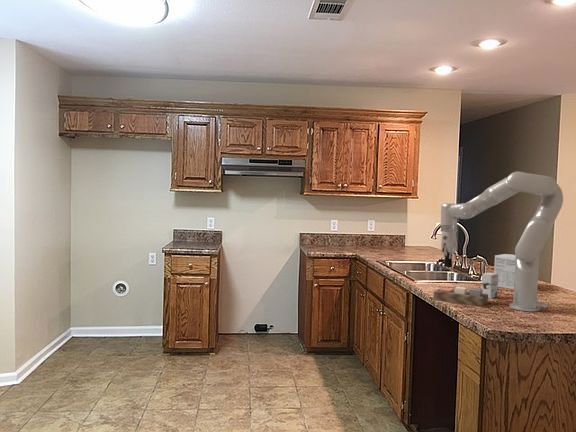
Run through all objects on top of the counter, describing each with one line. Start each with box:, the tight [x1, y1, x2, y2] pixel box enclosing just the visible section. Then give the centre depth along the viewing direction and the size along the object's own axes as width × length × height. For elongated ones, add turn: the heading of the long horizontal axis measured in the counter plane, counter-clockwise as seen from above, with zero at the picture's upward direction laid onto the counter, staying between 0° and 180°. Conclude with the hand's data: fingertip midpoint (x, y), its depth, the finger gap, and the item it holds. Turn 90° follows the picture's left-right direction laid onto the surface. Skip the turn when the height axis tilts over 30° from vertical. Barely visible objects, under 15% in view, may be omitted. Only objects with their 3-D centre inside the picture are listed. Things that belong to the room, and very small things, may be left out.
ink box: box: [481, 272, 499, 299], centre depth 243 cm, size 8×5×12 cm, turn 134°
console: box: [432, 287, 489, 308], centre depth 231 cm, size 22×12×4 cm, turn 54°
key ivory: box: [454, 286, 468, 295], centre depth 231 cm, size 5×5×4 cm
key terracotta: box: [439, 287, 453, 292], centre depth 235 cm, size 5×5×4 cm
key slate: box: [469, 287, 483, 297], centre depth 226 cm, size 5×5×4 cm
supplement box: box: [493, 253, 516, 290], centre depth 271 cm, size 13×13×18 cm
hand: (448, 266), depth 234 cm, fingers closed
